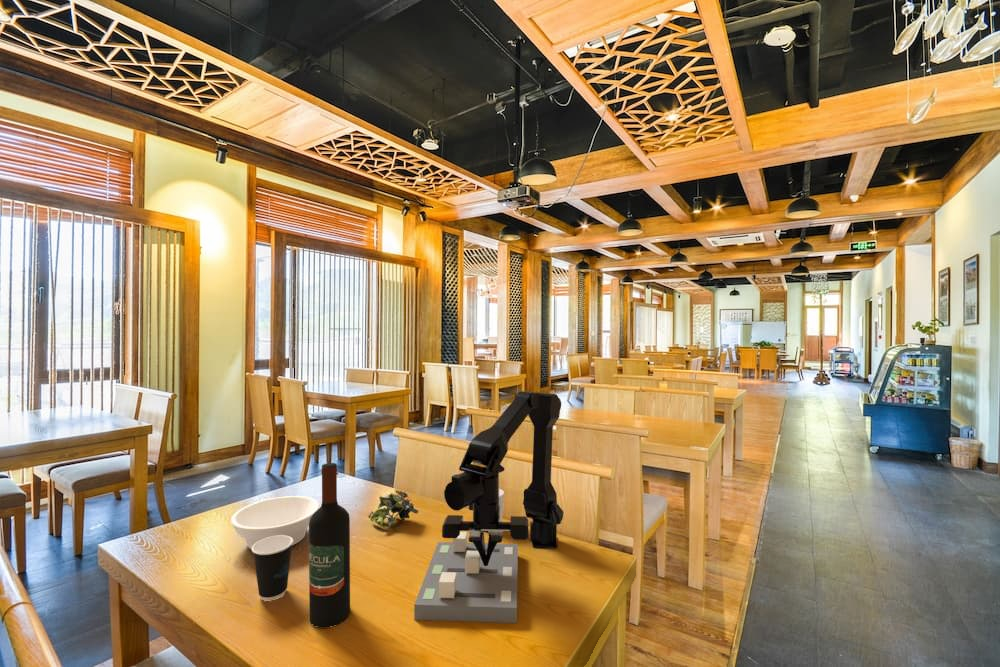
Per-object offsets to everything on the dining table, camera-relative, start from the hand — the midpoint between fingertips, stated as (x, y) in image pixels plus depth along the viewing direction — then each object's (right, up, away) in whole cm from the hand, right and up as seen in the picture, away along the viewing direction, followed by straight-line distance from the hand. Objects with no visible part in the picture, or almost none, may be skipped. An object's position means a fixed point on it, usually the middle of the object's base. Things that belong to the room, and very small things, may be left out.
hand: (485, 565), depth 99 cm
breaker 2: (-7, -1, +9) cm, 12 cm away
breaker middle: (-3, -1, 0) cm, 3 cm away
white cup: (0, -4, +28) cm, 28 cm away
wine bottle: (-31, -5, -10) cm, 33 cm away
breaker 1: (-7, -1, -9) cm, 11 cm away
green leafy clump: (-28, -4, +29) cm, 41 cm away
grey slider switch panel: (-3, -4, 0) cm, 5 cm away
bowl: (-56, -4, +20) cm, 60 cm away
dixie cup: (-45, -5, -4) cm, 46 cm away
